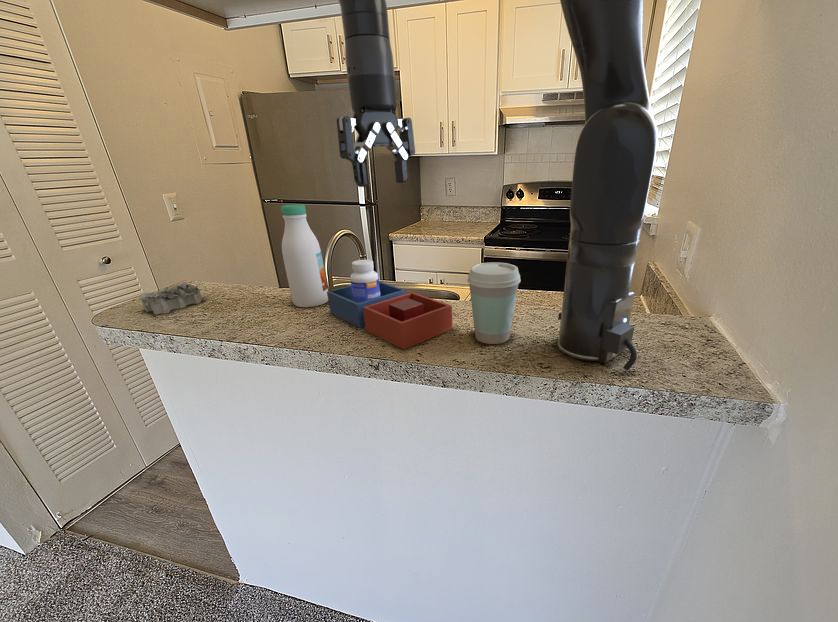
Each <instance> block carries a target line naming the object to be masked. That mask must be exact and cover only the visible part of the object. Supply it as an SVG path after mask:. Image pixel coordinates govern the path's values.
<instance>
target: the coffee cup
mask: <svg viewBox="0 0 838 622" xmlns="http://www.w3.org/2000/svg"><path fill="white" fill-rule="evenodd" d="M466 279H467V283H468V286H469V292H470V303H471V311H472V321H473V327H474V328H473V329H474V336H475V339H476V340H477V341H478V342H480V343H483V344H487V345H499V344H503V343H506V342H507V341H508V340H509V339H510V336H511V330H512V324H513V319H514V313H515V307H516V301H517V295H518V289H519V285H520V283H521V282H522V280H521V274H520V272H519V268H518V266H517V265H515V264H511V263H508V262H496V261H495V262H482V263H477V264H474V265H472V266H471V267H470V270H469V273H468V275H467V278H466Z"/></svg>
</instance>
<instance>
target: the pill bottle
mask: <svg viewBox="0 0 838 622" xmlns="http://www.w3.org/2000/svg"><path fill="white" fill-rule="evenodd" d="M374 267H375V266H374V261H373V260H371V259H357V260H354V261H352V262H351V268H352V271H353V272H352V273H351V275H350V277H349V278H350V285H351V287H352V294H353V300H354V302H357V303H361V302H364V301H367V300H371V299H374V298H377V297H381V295H380V287H379V281H380V280H379V279H380V278H379V274H378V272H377V271H375V270H373V269H374Z"/></svg>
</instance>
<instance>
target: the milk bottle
mask: <svg viewBox="0 0 838 622" xmlns="http://www.w3.org/2000/svg"><path fill="white" fill-rule="evenodd" d="M280 212H281V215H282V219H283V220H284V229H283V230H284V231H283V234H282V240H281V253H282V259H283V264H284V269H285V274H286V278H287V283H288V287H289V292H290V297H291V300H292V304H293V305H294V306H296V307H299V308H313V307H314V308H315V307H318V306H321V305H324V304H326V303H328V296H327V291H329V287H328V281H327V277H326V270H325V266H324V260H323V255H322V250H321V246H320V243H319V241H318V239H317V236H316V235H315V234H314V232H313V231H312V229H311V227H310V226H309V222H308V221H307V209H306V205H305V204H302V203H294V204H285V205H282V206H280Z"/></svg>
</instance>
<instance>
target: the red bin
mask: <svg viewBox="0 0 838 622" xmlns="http://www.w3.org/2000/svg"><path fill="white" fill-rule="evenodd" d="M407 298H409V299H411V300H414V301H417V302H420V303H423V304H424V314H422V315H420V316H417V317H414V318H411V319H408V320H405V321H403V322H401V321H399V320H396V319H394V318H392V317H390V313H389V304H392V303H395V302H398V301H401V300H404V299H407ZM363 313H364V320H365V327H364V328H365V331H366V332H368V333H370V334H371V335H373V336H376V337H378V338H380V339H381V340H383V341H386V342H387V343H390V344H391V345H394V346H396V347H398V348H399V349H400V348H401V349H402V350H405V349H408V348H410V347H413V346H416V345H418V344H421V343H423V342H426V341H427V340H430V339H433V338H435V337H438V336H440V335H442V334H445V333H448V332H450V331H452V330H453V306H452V304H449V303H445V302H442V301H439V300H437V299H433V298H431V297H428V296H425V295H422V294H419V293H416V292H413V291H411V292H408V293H407V292H406V294H404V295H401V296H398V297H394V298H391V299H388V300H384V301H381V302H378V303H375V304H371V305H368V306H365V307H363Z"/></svg>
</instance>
